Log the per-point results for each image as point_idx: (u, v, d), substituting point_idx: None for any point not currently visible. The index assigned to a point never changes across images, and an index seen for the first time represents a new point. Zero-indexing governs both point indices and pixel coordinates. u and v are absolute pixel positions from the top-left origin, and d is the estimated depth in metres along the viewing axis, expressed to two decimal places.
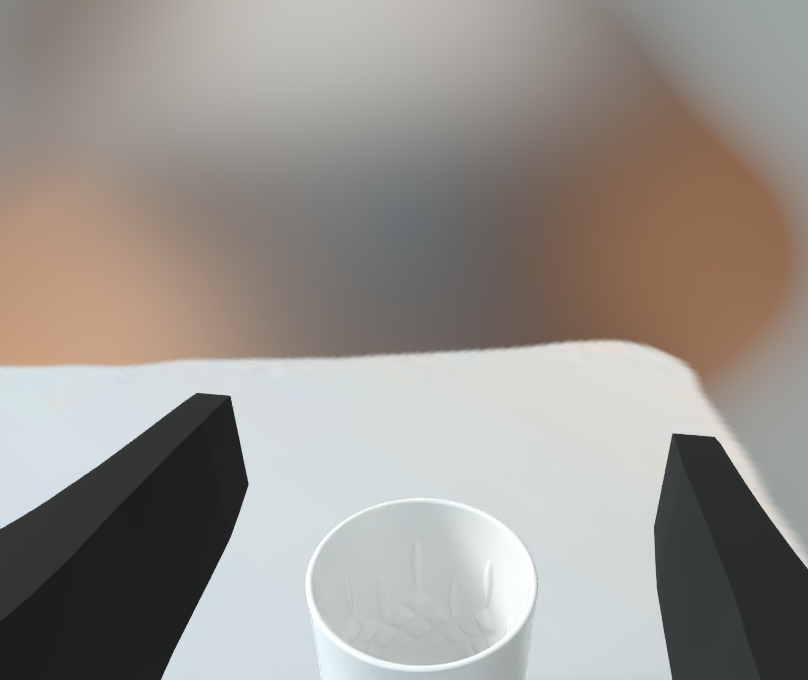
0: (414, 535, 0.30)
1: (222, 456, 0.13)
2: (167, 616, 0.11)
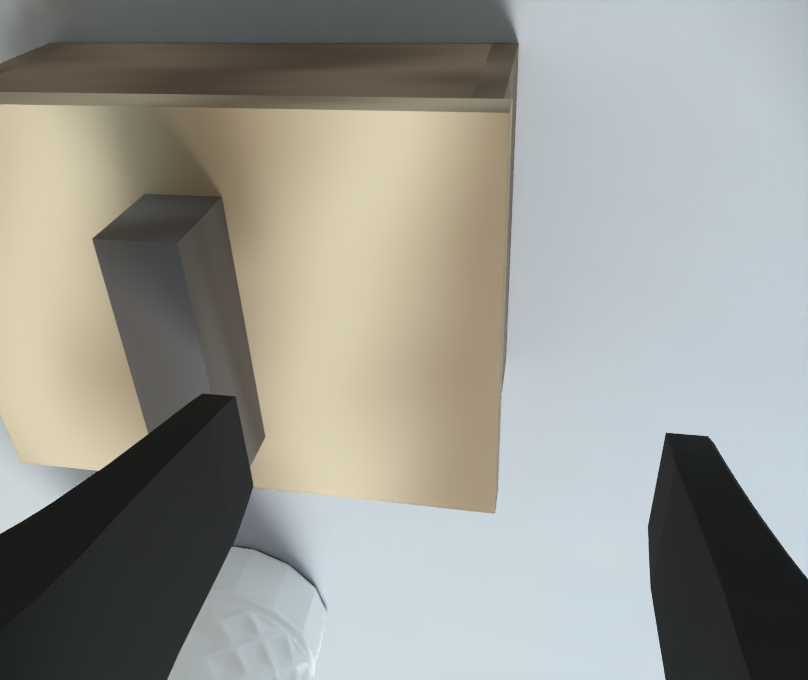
0: None
1: (227, 457, 0.13)
2: (173, 617, 0.11)
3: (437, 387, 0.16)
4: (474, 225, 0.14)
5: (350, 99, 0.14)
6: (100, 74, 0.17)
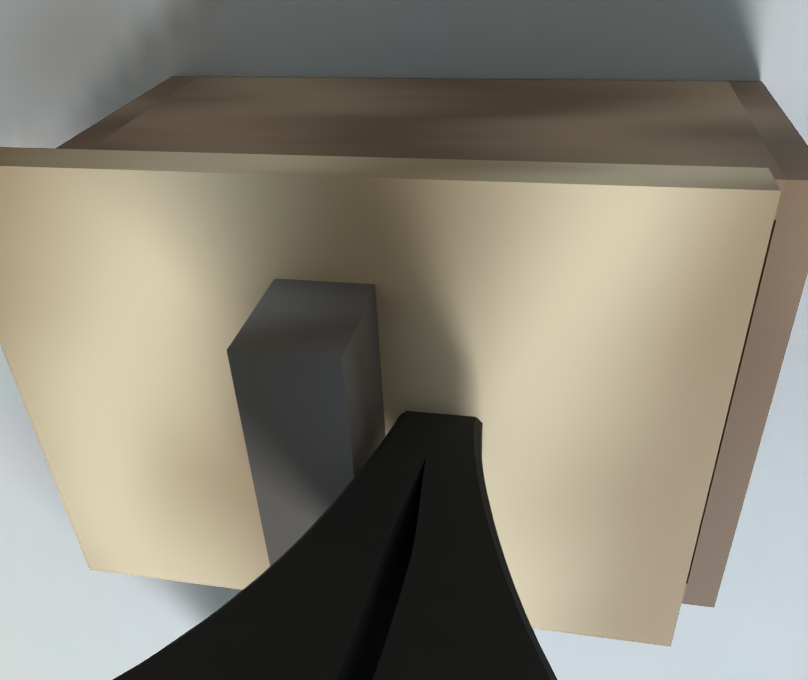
0: None
1: None
2: None
3: (622, 508, 0.13)
4: (706, 325, 0.11)
5: (551, 166, 0.11)
6: (260, 123, 0.14)
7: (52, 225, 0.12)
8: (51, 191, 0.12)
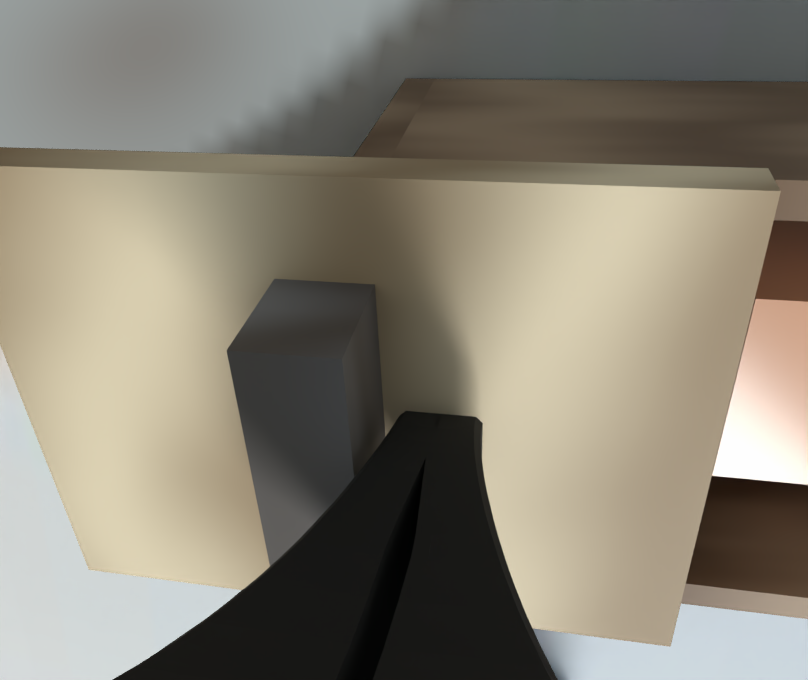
0: None
1: None
2: None
3: (622, 509, 0.13)
4: (706, 325, 0.11)
5: (551, 166, 0.11)
6: (555, 128, 0.13)
7: (52, 225, 0.12)
8: (50, 192, 0.12)
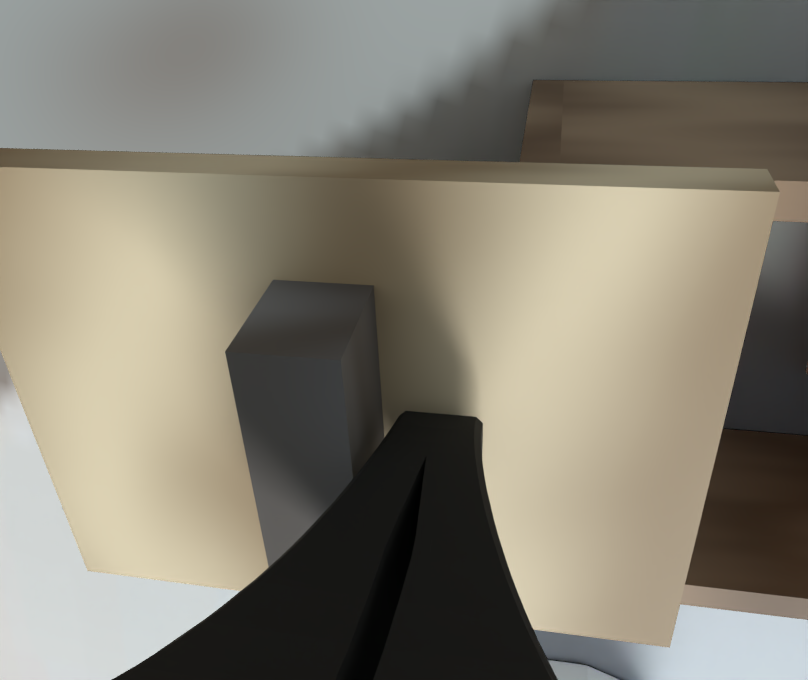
0: None
1: None
2: None
3: (621, 510, 0.13)
4: (705, 327, 0.11)
5: (550, 167, 0.11)
6: (719, 132, 0.12)
7: (50, 226, 0.12)
8: (49, 193, 0.12)
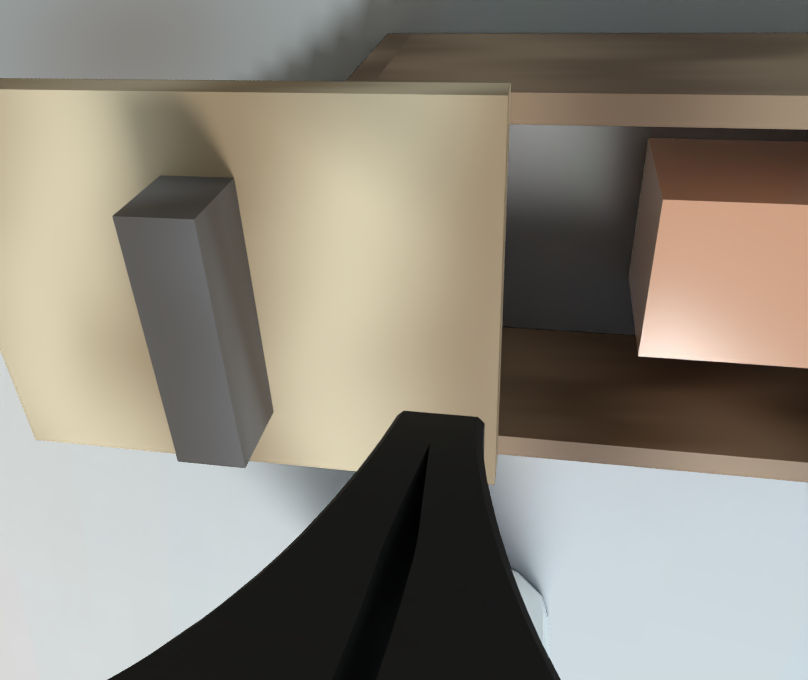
0: None
1: None
2: None
3: (439, 361, 0.17)
4: (474, 203, 0.15)
5: (356, 84, 0.15)
6: (503, 65, 0.16)
7: None
8: None
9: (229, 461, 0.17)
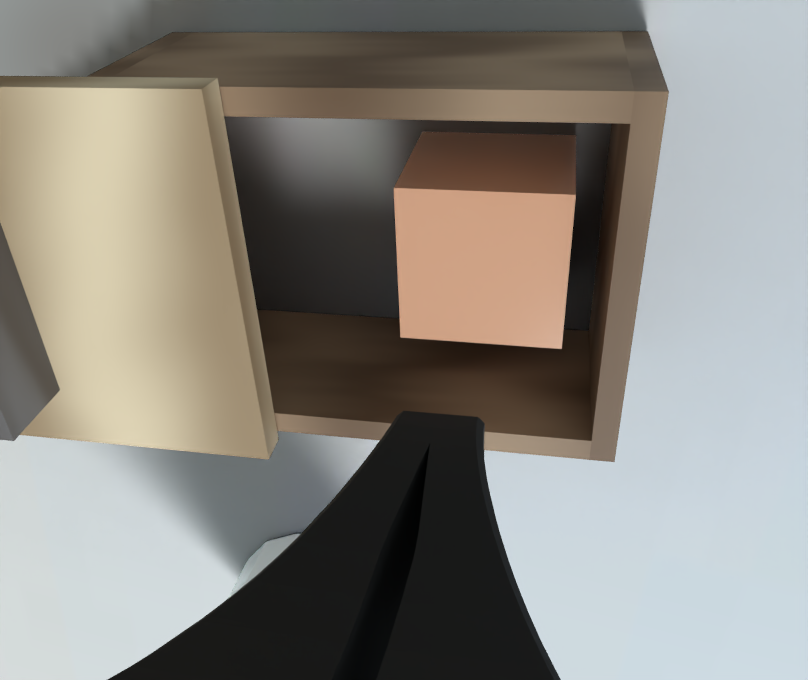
0: None
1: None
2: None
3: (195, 340, 0.18)
4: (194, 190, 0.16)
5: (80, 78, 0.16)
6: (242, 61, 0.17)
7: None
8: None
9: None
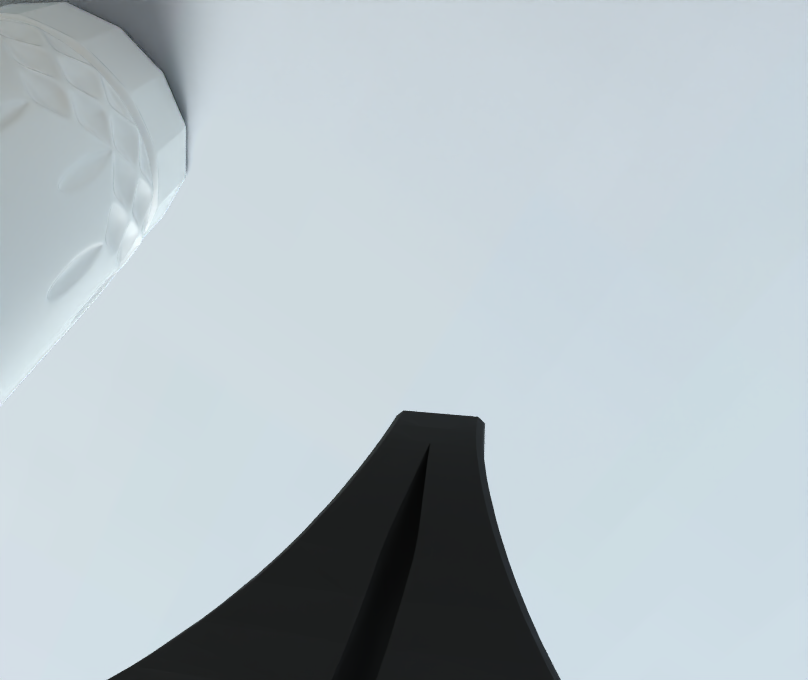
0: None
1: None
2: None
3: None
4: None
5: None
6: None
7: None
8: None
9: None
